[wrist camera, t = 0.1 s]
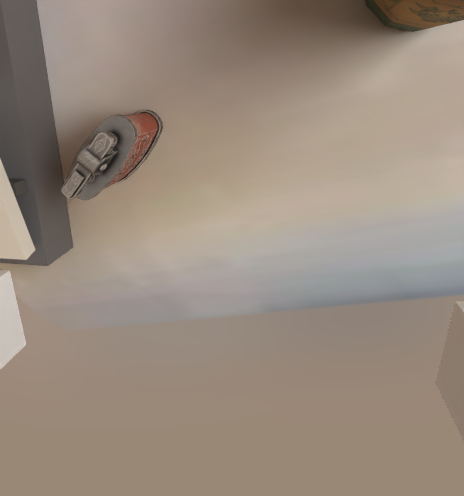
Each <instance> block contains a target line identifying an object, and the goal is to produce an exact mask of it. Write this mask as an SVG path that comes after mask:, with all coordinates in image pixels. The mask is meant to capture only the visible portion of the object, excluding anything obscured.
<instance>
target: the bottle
mask: <svg viewBox="0 0 464 496" xmlns="http://www.w3.org/2000/svg"><path fill="white" fill-rule="evenodd" d="M365 1H366V5H367V6H368V7H369V8H370V9H371V10H372V12H373V13H374V14H375V15H376V16H377V17H378V18H379V19H380V20H381V22H382V23H383V24H384V25H385V26H389V27H394V28H398V29H403V30H407V31H412V32H414V31H418V30H422V29H426V28H431V27H435V26H439V25H444V24H448V23H452V22H456V21H461V20H464V0H365Z"/></svg>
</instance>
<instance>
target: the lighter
mask: <svg viewBox="0 0 464 496" xmlns="http://www.w3.org/2000/svg"><path fill="white" fill-rule="evenodd" d="M162 129H163V123H162V121H161V118H160V117H159V116H158V115H157V114H156V113H155V112H153V111H150V110H144V111H140V112H138V113H137V114H134V115H128V116H123V115H113V116H110V117H108V118H107V119H106V120H105V121H104V122H103V123H102V124H100V125H99V126H98V127H97V128H96V129H95V130H94V131H93V133H92V134H91V135H90V136H89V138H88V139H87V140H86V141H85V143H84V144H83V145H82V147H81V149H80V150H79V152H78V154H77V156H76V157H75V159H74V161H73V163H72V166H71V168H70V171H69V174H68V176H67V180H66V182H65V183H64V185H63V186H62V188H61V191H62V193H63V194H64V195H65V196H66V197H67V198H69V199H72V198H74V197H77V198H79V199H82V200H89V199H91V198H93V197H95V196H96V195H97V194H99V193H100V192H101V191H102V190H103V189H104V188H106V187H108V186H110V185H112V184H114V183H120V182H122V181H123V180H125V179H127V178H128V177H129V176H130V175H131V174H132V173H134V172H135V171H136V170H137V169H138V168H139V167H140V166H141V164H142V163H143V162H144V161H145V160H146V159H147V157H148V156H149V154H150V153H151V151H152V150H153V148H154V147H155V145H156V143H157V141H158V139H159V137H160V134H161V132H162Z"/></svg>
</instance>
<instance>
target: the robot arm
mask: <svg viewBox="0 0 464 496" xmlns="http://www.w3.org/2000/svg"><path fill="white" fill-rule="evenodd" d="M25 345H26V341H25V337H24V332H23V328H22V323H21V319H20V315H19V310H18V305H17V301H16V296H15V292H14V287H13V283H12V278H11V274H10V270H0V369H1V368H2V367H4V366H5V364H6V363H8V362H9V361H10V360H11V359H12V357H14V356H15V355H16V354H17V353H18V352H19V351H20V350H21V349H22V348H23V347H24V346H25ZM436 385H437V387H438V389H439V391H440V393H441V395H442V397H443V399H444V401H445V403H446V405H447V408H448V410H449V412H450V414H451V416H452V418H453V420H454V422H455V424H456V426H457V428H458V430H459V432H460V435H461V436H462V439H463V440H464V302H459V301H455V305H454V309H453V313H452V317H451V321H450V326H449V329H448V333H447V338H446V342H445V346H444V350H443V354H442V358H441V362H440V366H439V371H438V374H437V379H436Z"/></svg>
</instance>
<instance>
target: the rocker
mask: <svg viewBox="0 0 464 496" xmlns="http://www.w3.org/2000/svg"><path fill="white" fill-rule="evenodd" d="M34 251H35V247H34V245H33V242H32V239H31V237H30V234H29V232H28V229H27V226H26V224H25V221H24V219H23V216H22V213H21V211H20V208H19V206H18V203H17V200H16V198H15V195H14V193H13V190H12V187H11V185H10V182H9V180H8V177H7V174H6V172H5V169H4V167H3V164H2V161H1V159H0V258H4V259H19V260H27V259H28V258H29V257H30V255H31V254H32V253H33V252H34Z"/></svg>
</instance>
